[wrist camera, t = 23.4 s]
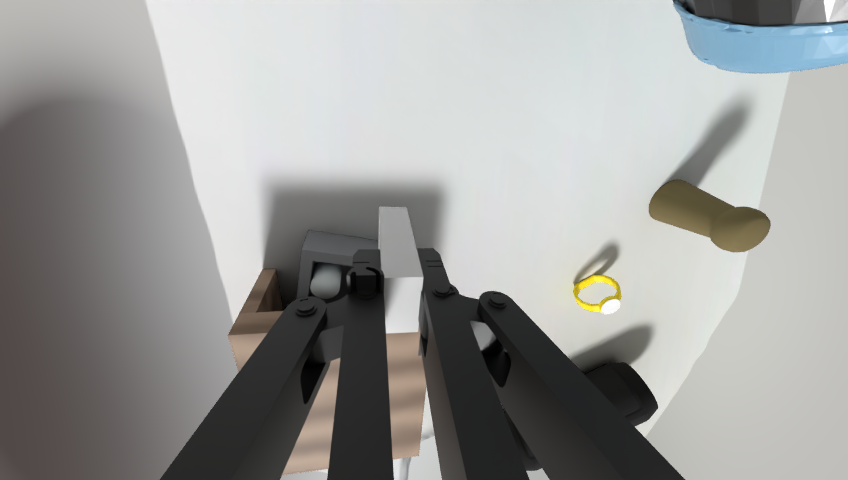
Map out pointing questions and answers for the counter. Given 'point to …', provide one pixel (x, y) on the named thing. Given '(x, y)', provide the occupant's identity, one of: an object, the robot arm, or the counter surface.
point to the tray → (328, 255)
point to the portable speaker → (618, 389)
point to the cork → (709, 216)
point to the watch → (606, 304)
